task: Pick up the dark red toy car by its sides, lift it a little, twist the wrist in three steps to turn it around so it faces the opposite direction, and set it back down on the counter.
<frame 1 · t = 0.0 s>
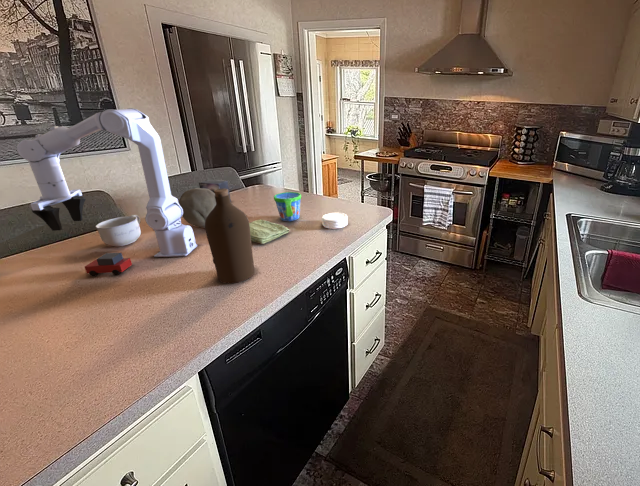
hand: (68, 225, 98), 10 cm above the worktop, tool pointing down, fingers open, 7 cm apart
small box: (217, 203, 153), on the worktop
toy car: (128, 271, 93), on the worktop
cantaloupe: (204, 226, 126), on the worktop
washcloth: (261, 235, 119), on the worktop
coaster: (335, 224, 129), on the worktop
teacup: (128, 241, 112), on the worktop
snack cup: (290, 219, 135), on the worktop
olive oil: (237, 275, 92), on the worktop
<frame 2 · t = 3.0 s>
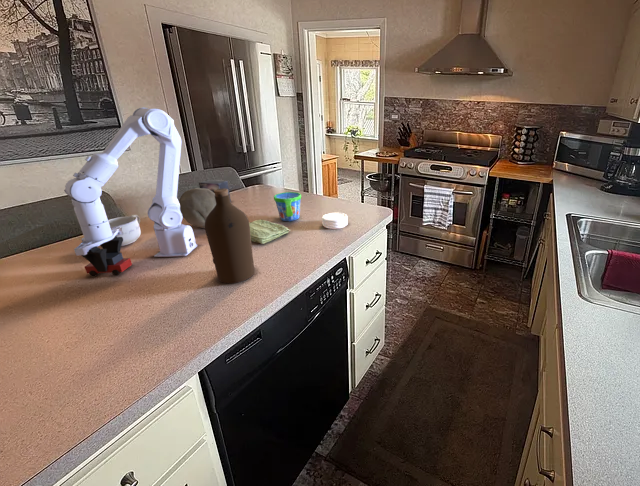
hand: (109, 266, 92), 2 cm above the worktop, tool pointing down, fingers closed on toy car, 4 cm apart
toy car: (128, 271, 93), on the worktop, touching gripper
everything else where it was.
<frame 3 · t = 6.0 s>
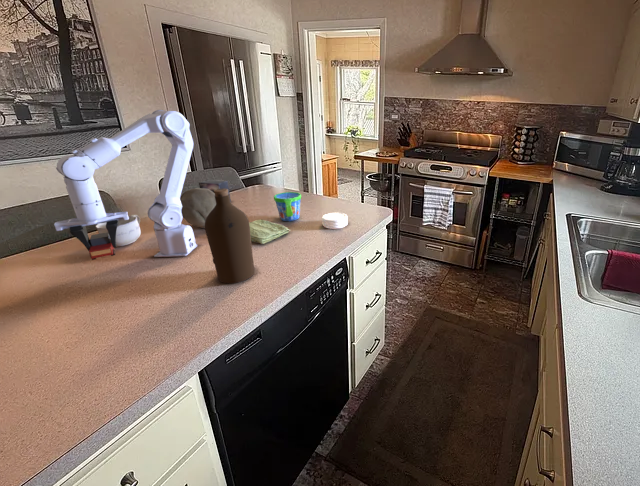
hand: (103, 248, 90), 7 cm above the worktop, tool pointing down, fingers closed on toy car, 4 cm apart
toy car: (106, 247, 94), point 6 cm above the worktop, touching gripper
everything else where it was.
when the fingers open (2 cm above the worktop, at t = 9.2 s): toy car stays where it is, on the worktop.
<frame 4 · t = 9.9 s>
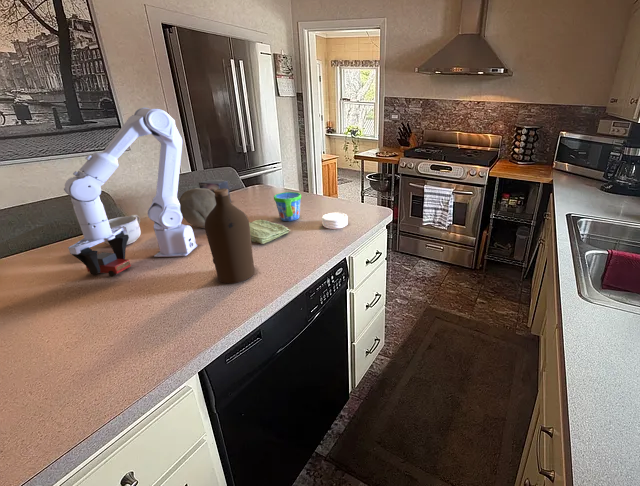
hand: (109, 265, 92), 2 cm above the worktop, tool pointing down, fingers open, 7 cm apart
toy car: (96, 270, 93), on the worktop
everything else where it was.
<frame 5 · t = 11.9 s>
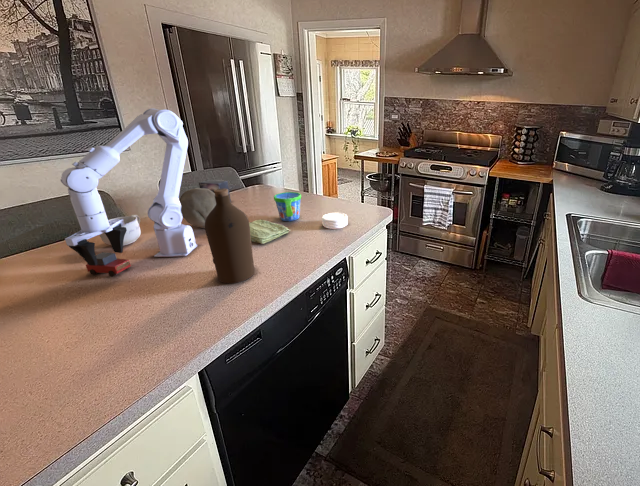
hand: (106, 258, 91), 4 cm above the worktop, tool pointing down, fingers open, 7 cm apart
nothing on the worktop moved.
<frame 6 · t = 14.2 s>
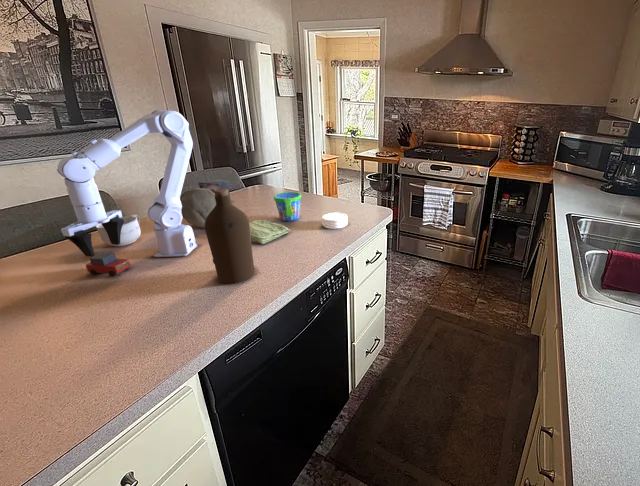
hand: (103, 249, 90), 7 cm above the worktop, tool pointing down, fingers open, 7 cm apart
nothing on the worktop moved.
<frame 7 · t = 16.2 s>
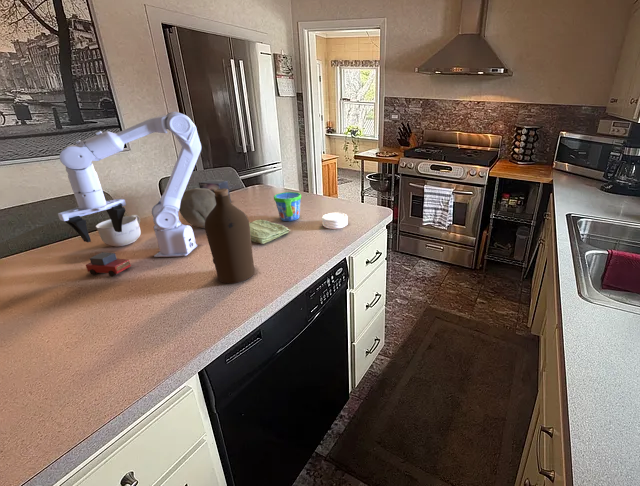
hand: (103, 236, 93), 9 cm above the worktop, tool pointing down, fingers open, 7 cm apart
nothing on the worktop moved.
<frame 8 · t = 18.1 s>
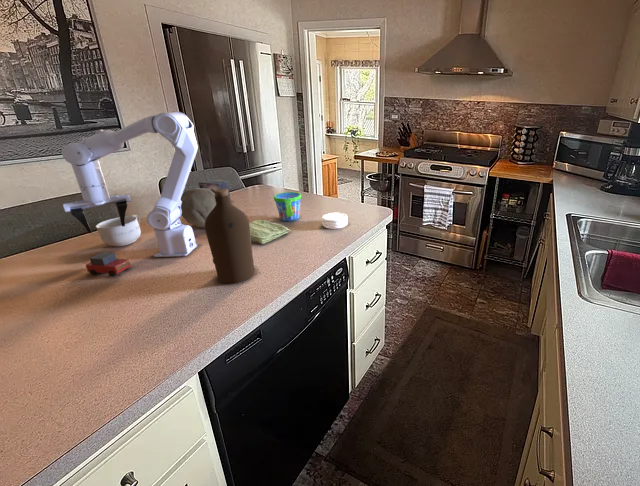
hand: (107, 228, 98), 9 cm above the worktop, tool pointing down, fingers open, 7 cm apart
nothing on the worktop moved.
at the end: toy car 1.0 cm from the target spot, on the worktop; toy car tilted 0°; the gripper is holding nothing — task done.
